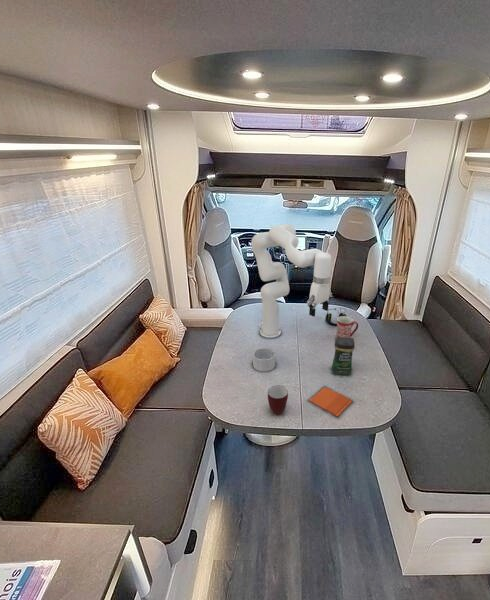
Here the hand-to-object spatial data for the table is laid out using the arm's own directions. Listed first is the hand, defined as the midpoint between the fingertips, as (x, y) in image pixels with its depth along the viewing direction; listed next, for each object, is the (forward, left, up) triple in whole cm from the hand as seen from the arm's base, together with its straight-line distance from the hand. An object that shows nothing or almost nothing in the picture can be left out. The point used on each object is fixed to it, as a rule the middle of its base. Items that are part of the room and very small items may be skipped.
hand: (318, 312), depth 151 cm
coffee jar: (+15, +2, -28) cm, 32 cm away
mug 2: (+1, +30, -28) cm, 41 cm away
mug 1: (+9, -39, -28) cm, 49 cm away
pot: (-17, -20, -28) cm, 39 cm away
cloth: (+23, -20, -28) cm, 41 cm away
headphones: (-15, +46, -28) cm, 56 cm away
